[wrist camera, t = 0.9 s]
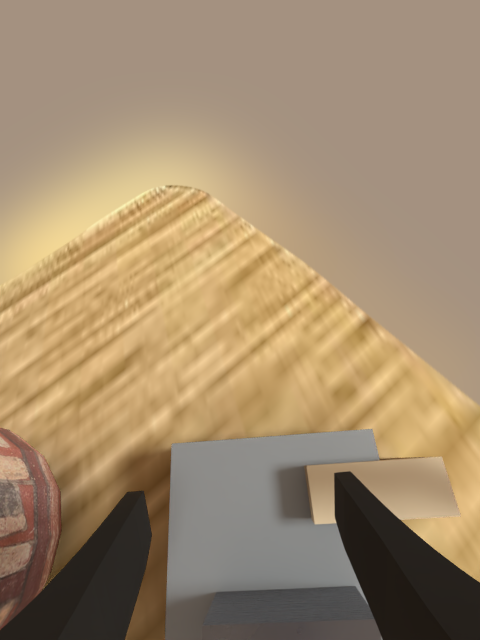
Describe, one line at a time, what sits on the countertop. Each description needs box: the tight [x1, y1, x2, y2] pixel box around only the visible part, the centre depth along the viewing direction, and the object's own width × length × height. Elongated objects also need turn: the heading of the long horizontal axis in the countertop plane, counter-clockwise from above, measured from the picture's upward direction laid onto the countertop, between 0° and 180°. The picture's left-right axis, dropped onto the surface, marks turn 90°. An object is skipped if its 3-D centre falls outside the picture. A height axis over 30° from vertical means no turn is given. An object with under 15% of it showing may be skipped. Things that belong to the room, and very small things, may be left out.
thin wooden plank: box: [304, 457, 461, 524], centre depth 18 cm, size 3×8×2 cm, turn 94°
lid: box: [165, 429, 383, 640], centre depth 16 cm, size 14×14×5 cm
